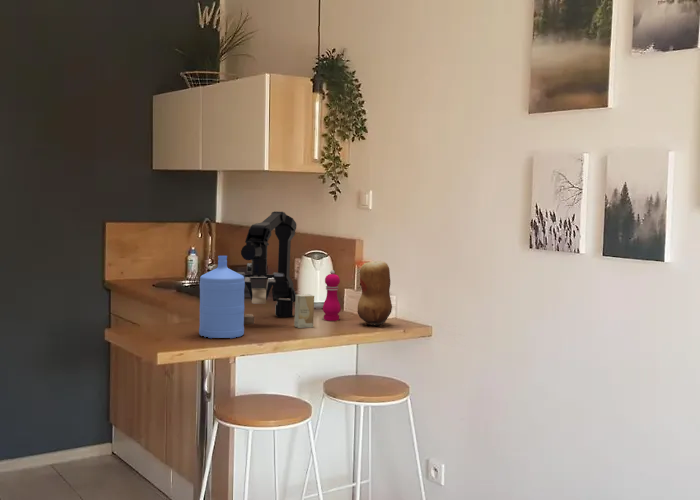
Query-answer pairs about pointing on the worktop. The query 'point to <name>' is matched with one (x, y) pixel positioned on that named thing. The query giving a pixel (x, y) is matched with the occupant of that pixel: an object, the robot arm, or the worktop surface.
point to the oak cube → (258, 295)
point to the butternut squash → (375, 293)
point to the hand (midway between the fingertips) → (258, 299)
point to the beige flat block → (248, 319)
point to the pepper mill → (331, 298)
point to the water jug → (222, 302)
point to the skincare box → (304, 311)
